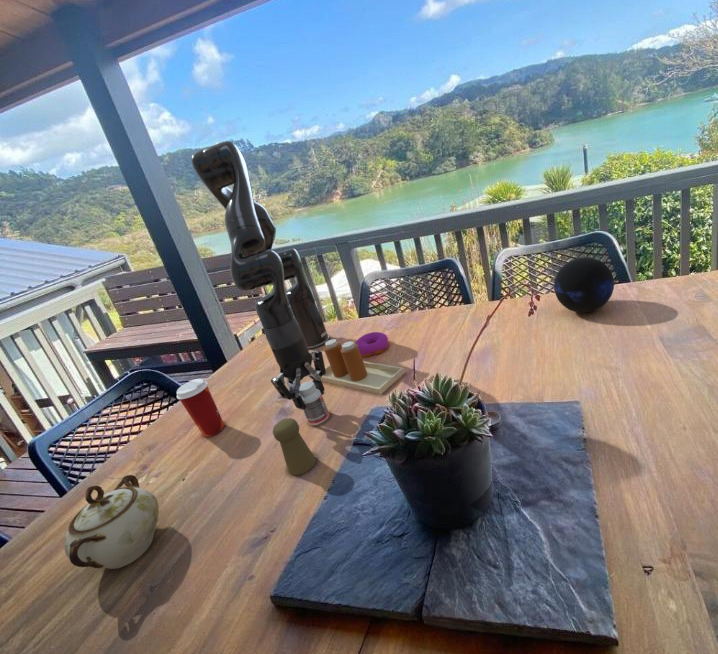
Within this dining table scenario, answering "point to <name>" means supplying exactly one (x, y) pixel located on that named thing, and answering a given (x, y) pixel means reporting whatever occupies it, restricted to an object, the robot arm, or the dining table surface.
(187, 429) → the dining table surface
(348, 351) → the amber bottle middle
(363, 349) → the donut
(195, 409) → the paper cup
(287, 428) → the olive green pawn
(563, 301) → the decorative sphere
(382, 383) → the tray
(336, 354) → the amber bottle far
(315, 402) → the pill bottle
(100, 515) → the sugar bowl
